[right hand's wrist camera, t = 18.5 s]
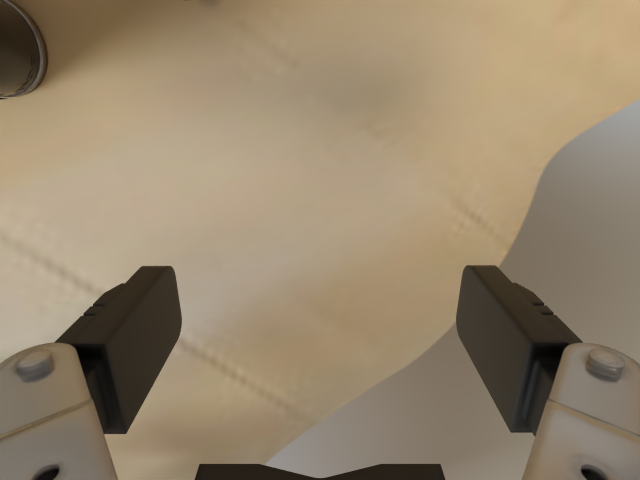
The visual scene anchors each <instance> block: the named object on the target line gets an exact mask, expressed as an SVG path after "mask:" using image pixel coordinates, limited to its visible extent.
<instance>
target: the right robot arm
mask: <svg viewBox="0 0 640 480" xmlns="http://www.w3.org/2000/svg"><path fill="white" fill-rule="evenodd" d="M46 63H47V56H46V49H45V45H44V41H43V39H42V36H41V34H40V32H39V30H38V28H37V27H36V25H35V23H34V22H33V21H32V19H31V18H30V17H29V16H28V15H27V14H26V13H25V12H24V11H23V10H22V9H21V8H20V7H19V6H17V5H16V4H15V3H13V2H12V1H10V0H0V97H16V96H22V95H25V94H27V93H29V92H31V91H32V90H34V89H35V88H36V87H37V86H38V85H39V83H40V82H41V80H42V79H43V76H44V74H45V70H46ZM0 99H6V98H0ZM181 324H182V316H181V309H180V302H179V296H178V289H177V282H176V276H175V272H174V269H173V268H172V267H171V266H142V267H141V268H139V270H138V271H137V272H136V273H135V274H134V275H133V276H132V277H131V278H130V279H129V280H128V281H127V282H126V283H125V284H120V285H118V286H116V287H114V288H113V289H111V290H109V291H107V292H105V293H104V294H103V295H102V296H101V297H100V298H99V299H98V300H97V301H96V302H95V303H94V304H93V306H91V307H90V308H89V309H88V310H87V311H86V312H85V313H84V316H81V317H80V318H79V319H78V320H77V321H76V322H75V323H74V324H73V325H72V326H71V327H70V328H69V329H68V330H67V331H66V332H65V333H64V334H62V335H61V336H60V337H59V338H58V339H57V340H56V341H55V342H54V343H48V344H42V345H38V346H34V347H31V348H28V349H25V350H23V351H21V352H18V353H16V354H15V355H13V356H11V357H9V358H8V359H6V360H5V361H3V362H2V363H1V364H0V480H118V477H117V474H116V471H115V468H114V465H113V462H112V458H111V455H110V452H109V449H108V446H107V443H106V439H105V436H104V434H126V433H127V431H128V429H129V428H130V426H131V424H132V422H133V420H134V418H135V417H136V415H137V413H138V411H139V409H140V408H141V406H142V404H143V402H144V400H145V398H146V397H147V395H148V393H149V391H150V389H151V387H152V386H153V384H154V382H155V380H156V378H157V376H158V375H159V373H160V371H161V369H162V367H163V365H164V364H165V362H166V360H167V358H168V356H169V355H170V353H171V351H172V349H173V347H174V345H175V344H176V342H177V340H178V338H179V335H180V331H181ZM456 325H457V331H458V335H459V337H460V339H461V341H462V343H463V345H464V347H465V349H466V350H467V352H468V354H469V356H470V358H471V360H472V362H473V363H474V365H475V367H476V369H477V371H478V373H479V375H480V376H481V378H482V380H483V382H484V384H485V386H486V387H487V389H488V391H489V393H490V395H491V397H492V398H493V400H494V402H495V404H496V406H497V408H498V410H499V411H500V413H501V415H502V417H503V419H504V421H505V423H506V424H507V426H508V428H509V430H510V432H532V433H533V434H534V436H535V439H534V443H533V446H532V449H531V452H530V455H529V458H528V462H527V465H526V468H525V471H524V474H523V477H522V480H640V364H639V363H638V362H637V361H635V360H634V359H632V358H631V357H629V356H627V355H625V354H624V353H622V352H619V351H617V350H615V349H612V348H609V347H606V346H602V345H598V344H592V343H583V342H582V341H581V340H580V339H579V338H578V337H577V336H576V335H575V334H574V333H573V332H572V331H571V330H570V329H569V328H568V327H567V326H566V325H565V324H564V323H563V322H562V321H561V320H560V319H559V318H558V317H557V316H556V315H553V312H552V311H551V310H550V309H549V308H548V307H547V306H544V303H543V302H542V301H541V300H540V299H539V298H538V297H537V296H536V295H535V294H534V293H533V292H531V291H530V290H528V289H526V288H524V287H522V286H521V285H519V284H517V283H512V282H511V281H510V280H509V279H508V278H507V277H506V276H505V275H504V274H503V273H502V272H501V270H500V269H499V268H498V267H497V266H495V265H467V266H466V267H465V268H464V270H463V274H462V281H461V287H460V294H459V301H458V308H457V315H456ZM195 480H445V477H444V474H443V471H442V468H441V465H440V464H379V465H375V466H371V467H367V468H363V469H359V470H355V471H351V472H347V473H343V474H339V475H335V476H331V477H327V478H313V477H309V476H305V475H301V474H297V473H293V472H289V471H285V470H281V469H277V468H272V467H269V466H265V465H261V464H200V465H199V468H198V471H197V474H196V477H195Z"/></svg>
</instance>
